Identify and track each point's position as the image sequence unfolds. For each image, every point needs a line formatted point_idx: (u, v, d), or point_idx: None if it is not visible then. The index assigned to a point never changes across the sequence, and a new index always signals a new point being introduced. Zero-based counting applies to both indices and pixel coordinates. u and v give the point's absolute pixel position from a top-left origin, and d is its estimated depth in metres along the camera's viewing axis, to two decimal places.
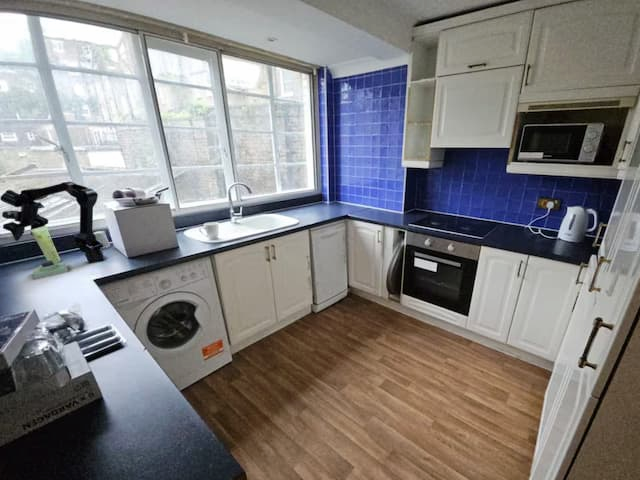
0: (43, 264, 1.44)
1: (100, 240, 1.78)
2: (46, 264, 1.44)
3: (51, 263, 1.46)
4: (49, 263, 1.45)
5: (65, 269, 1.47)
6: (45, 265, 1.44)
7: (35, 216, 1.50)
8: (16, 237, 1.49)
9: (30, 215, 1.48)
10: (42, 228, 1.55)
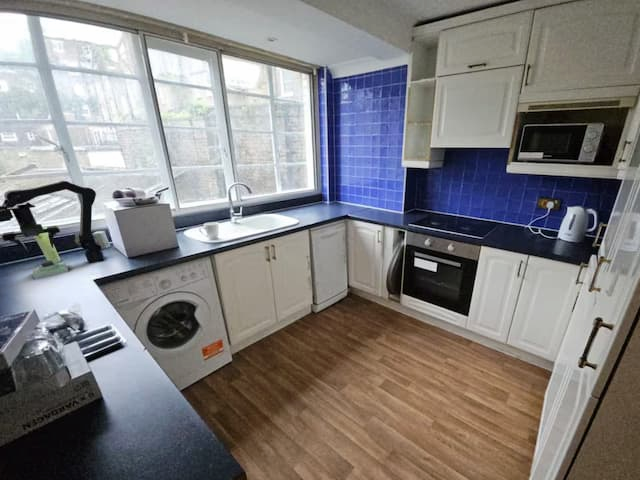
0: (43, 264, 1.44)
1: (100, 240, 1.78)
2: (46, 264, 1.44)
3: (51, 263, 1.46)
4: (49, 263, 1.45)
5: (65, 269, 1.47)
6: (45, 265, 1.44)
7: None
8: (52, 243, 1.45)
9: None
10: None
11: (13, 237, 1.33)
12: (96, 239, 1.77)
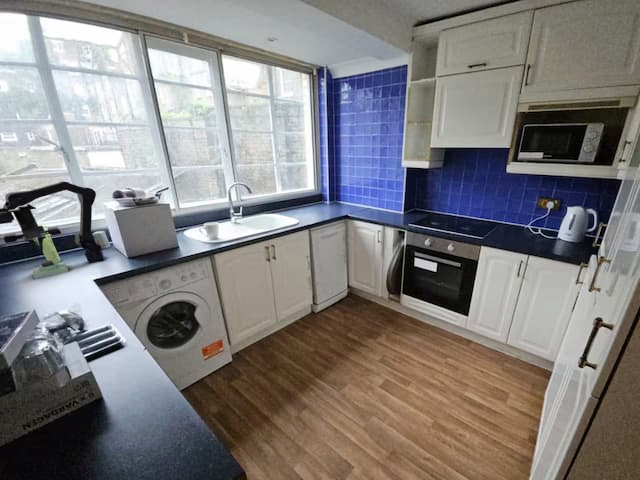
0: (43, 264, 1.44)
1: (100, 240, 1.78)
2: (46, 264, 1.44)
3: (51, 263, 1.46)
4: (49, 263, 1.45)
5: (65, 269, 1.47)
6: (45, 265, 1.44)
7: None
8: None
9: None
10: None
11: (15, 239, 1.34)
12: (96, 239, 1.77)
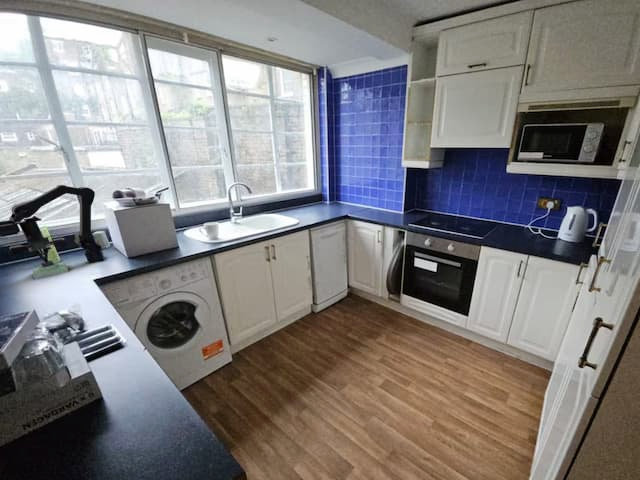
0: (43, 264, 1.44)
1: (100, 240, 1.78)
2: (46, 264, 1.44)
3: (51, 263, 1.46)
4: (49, 263, 1.45)
5: (65, 269, 1.47)
6: (45, 265, 1.44)
7: None
8: None
9: None
10: (42, 228, 1.55)
11: (20, 250, 1.36)
12: (96, 239, 1.77)
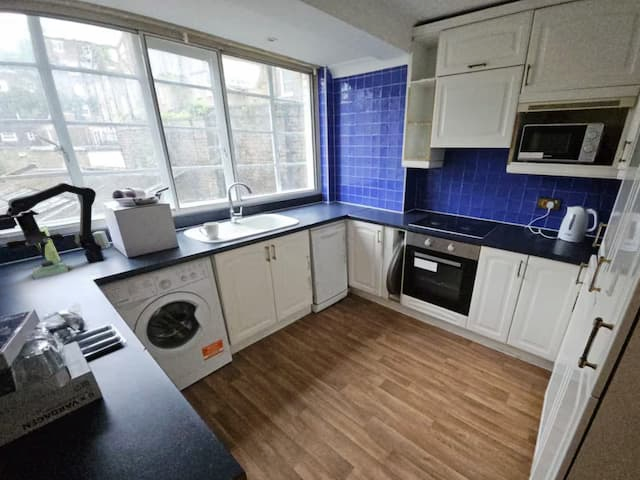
0: (43, 264, 1.44)
1: (100, 240, 1.78)
2: (46, 264, 1.44)
3: (51, 263, 1.46)
4: (49, 263, 1.45)
5: (65, 269, 1.47)
6: (45, 265, 1.44)
7: None
8: None
9: None
10: (42, 228, 1.55)
11: (17, 245, 1.35)
12: (96, 239, 1.77)
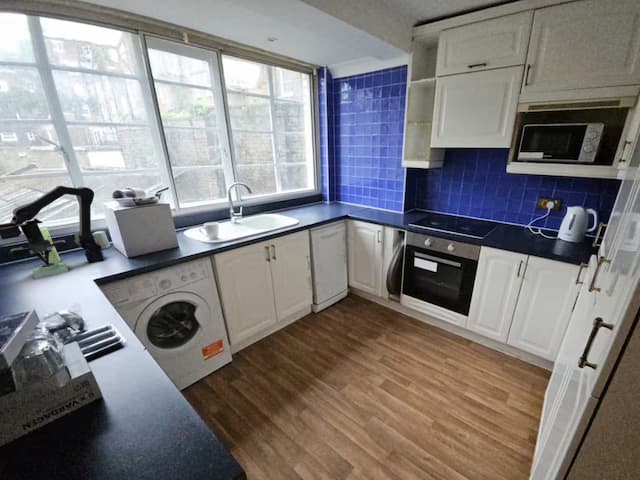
0: (44, 266, 1.44)
1: (100, 240, 1.78)
2: None
3: None
4: (50, 265, 1.45)
5: (65, 269, 1.47)
6: None
7: None
8: None
9: None
10: (42, 228, 1.55)
11: (22, 253, 1.36)
12: (96, 239, 1.77)
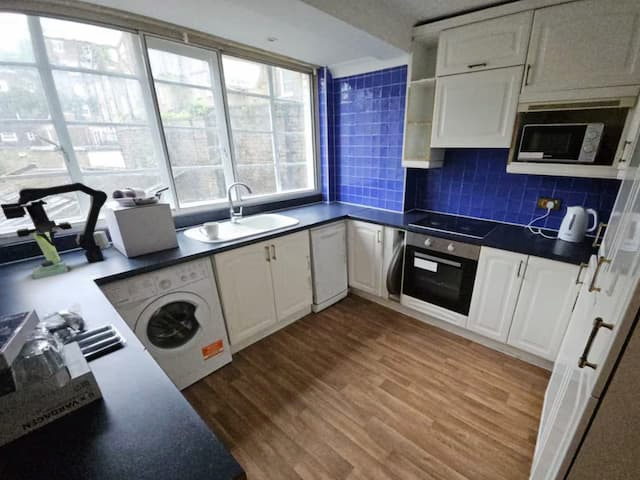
0: (43, 264, 1.44)
1: (100, 240, 1.78)
2: (46, 264, 1.44)
3: (51, 263, 1.46)
4: (49, 263, 1.45)
5: (65, 269, 1.47)
6: (45, 265, 1.44)
7: None
8: None
9: None
10: None
11: (27, 233, 1.38)
12: (96, 239, 1.77)
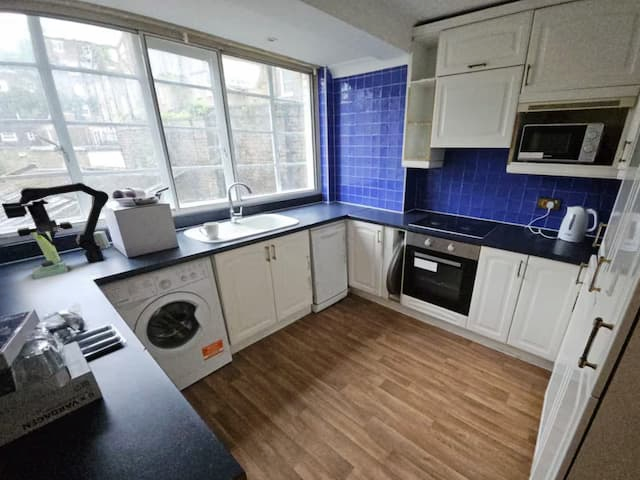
0: (43, 264, 1.44)
1: (100, 240, 1.78)
2: (46, 264, 1.44)
3: (51, 263, 1.46)
4: (49, 263, 1.45)
5: (65, 269, 1.47)
6: (45, 265, 1.44)
7: None
8: None
9: None
10: None
11: (28, 233, 1.38)
12: (96, 239, 1.77)
